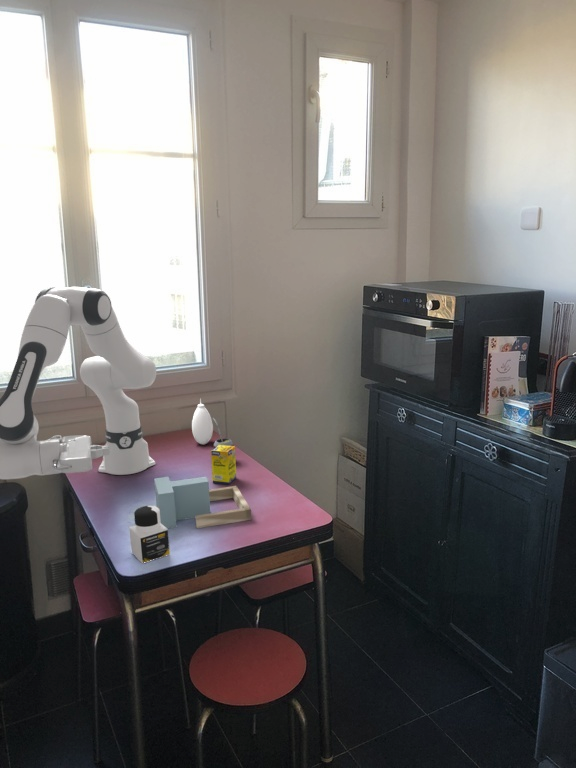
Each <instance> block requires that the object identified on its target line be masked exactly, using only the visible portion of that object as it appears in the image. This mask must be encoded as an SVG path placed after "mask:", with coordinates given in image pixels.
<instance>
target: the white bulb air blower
mask: <svg viewBox="0 0 576 768" xmlns="http://www.w3.org/2000/svg"><path fill="white" fill-rule="evenodd" d="M191 430H192V431H191V433H192V435H193V437H194V440H195V441H196V442H197V443H198V444H200V445H203V446H205V445H206V444H209V442H210V441H211V439H212V437H213V434H214V433H213V431H214V424H213V418H212V417H211V414H210V412H209V411H208V409H207V408H206V407H205V404H203V403H202V398H201V397H200V398H199V404H197V407H196V409H195V411H194V413H193V416H192V420H191Z"/></svg>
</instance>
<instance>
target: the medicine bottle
mask: <svg viewBox="0 0 576 768" xmlns="http://www.w3.org/2000/svg"><path fill="white" fill-rule="evenodd" d="M133 515H134V525H130V526H129V537H130V538H129V539H130V549H131V550H130V551H131V554H132V553H133V554H134V555H135V556H134V555H133V554H132V555H133V556H134V557H135V558H137V560H139V562H141V563H142V562H143V563H144V562H147V561H150V560H153V559H156V558H159V559H161V558H160V557H162V558H164V557H163V556H165V557H167V556H166V555H168V556H170V554H171V553H170V540H169V528H166V527H165V526H164V525H162V524H161V520H160V510H159V508H157V506H155V505H145V506H141V507H139V508H137V509H135V511H134V512H133ZM156 560H157V559H156ZM153 561H154V560H153ZM150 562H151V561H150ZM143 563H142V564H143ZM147 563H148V562H147ZM144 564H145V563H144Z"/></svg>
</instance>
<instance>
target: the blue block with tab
mask: <svg viewBox="0 0 576 768" xmlns="http://www.w3.org/2000/svg"><path fill="white" fill-rule="evenodd" d="M153 480H154V491H155V492H154V493H155V502H156V504H155V505H156V506H155V507H157V508H159V510H160V520H161V524H162V525H164V526H165V527H166V528H167V529H171V528H172V527H173V528H177V521H182V520H188V519H194V518H195V516H197V515H203V514H210V513H211V501H210V498H209V490H210V486H209V480H208V478H207V476H202V477H201V476H200V477H193V478H186V479H179V480H172V481H171V480H170V477H169V476H164V477H162V476H161V477H157V478H154V479H153Z"/></svg>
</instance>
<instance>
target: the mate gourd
mask: <svg viewBox="0 0 576 768" xmlns="http://www.w3.org/2000/svg"><path fill="white" fill-rule="evenodd" d="M212 421H214V423H215V424H216V428H217V430H218V434H219V437H220V438H218V439H216V440H215V441H214V443H213V449H214V448H216V447H217V446H218V445H226V446H235V445H234V442H233V441H232V440H231V439H230V438H225V437H223V436H222V433H221V429H220V424H219V423H218V421H217V420H216V419H215V417H212ZM213 449H212V450H213Z"/></svg>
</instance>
